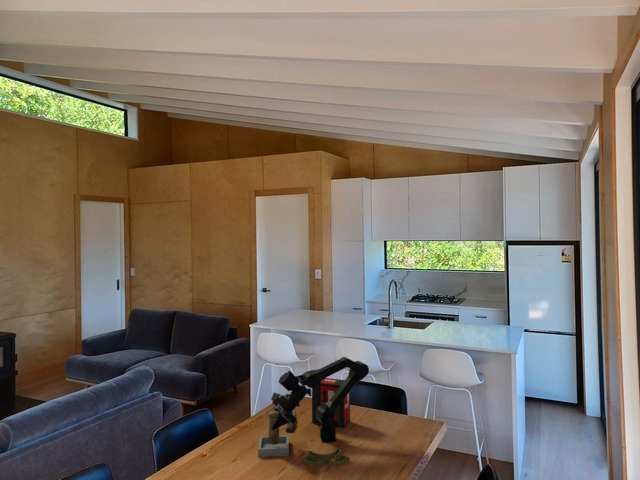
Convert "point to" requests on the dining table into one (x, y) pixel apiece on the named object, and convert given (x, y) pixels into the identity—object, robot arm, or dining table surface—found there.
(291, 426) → the cleaver
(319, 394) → the cleaning product box
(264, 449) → the box
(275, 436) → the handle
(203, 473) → the dining table surface
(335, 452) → the cookie cutter
